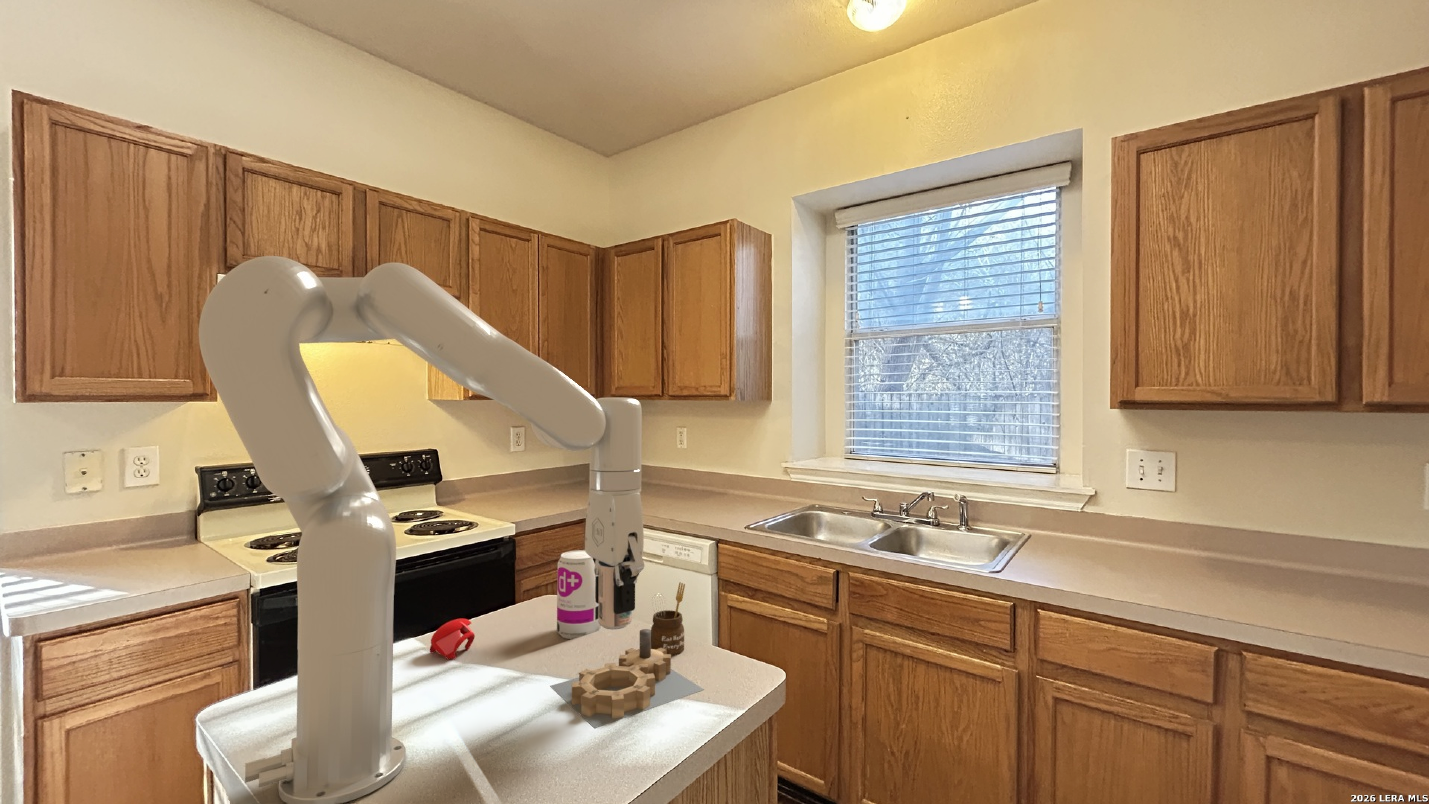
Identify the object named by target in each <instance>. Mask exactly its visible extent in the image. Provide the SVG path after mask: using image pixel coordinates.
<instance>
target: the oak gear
mask: <svg viewBox="0 0 1429 804" xmlns="http://www.w3.org/2000/svg"><path fill="white" fill-rule="evenodd" d="M578 675H579V676H578V678H579V681H578V682H572V705H576V704H581V714H583V715H586V716H589V717H591V716H592V715H594V714H595V713H603V714H611V715H612V718H620V717H624V712H626V711H629V710H632V709H635V708H638V709H641V710H644V709H646V708H647V707H648V706H650V696H651V695H655V676H654V673H651V674H645V673H643V672H642V671H641V666H640V667H639V665H637V664H633V665H632V666H630V667H626V666H619V665H616V662H609V663H604V667H600V668H598V669H597V668H596V669H593V670H591V669H588V668H586V669H584V670H582V671H580V672H579V674H578ZM611 686H614V687H628V688H625V689H622V690H619V691H606V690H601V689H604V688H607V687H611Z"/></svg>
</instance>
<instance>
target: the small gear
mask: <svg viewBox="0 0 1429 804" xmlns="http://www.w3.org/2000/svg"><path fill="white" fill-rule="evenodd" d="M633 664H637V665H639V667H640V666H641V671H642V672H643V673H645V674H651V673H654V676H655V680H657V681H661V680H663V679H666V674H671V669H672V667H671V666H672V656H671V654H667V650H666V649H663V648H659V649H656V650H655V649H651V629H648V628H645V629H644V628H642V629H640V630H639V649H635V648H633V647H632V648H628V649H625V651H624V654H619V656H618V666H626V667H630V666H632V665H633Z"/></svg>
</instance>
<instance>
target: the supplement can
mask: <svg viewBox="0 0 1429 804" xmlns="http://www.w3.org/2000/svg"><path fill="white" fill-rule="evenodd" d="M594 568H595V563H594V561H593V558H592V557H590V556H589V555H588V554H587V553H586V551H585V549H583V550H580V549H579V550H570V551H565V552H562V553H561V554H560V558H559V559H558V562H557V584H556V585H557V586H556V587H557V590H556V591H557V592H556V596H557V597H556V601H557V602H556V632H557V633H558V634H559V636H561V637H562V638H564V639H568V640H574V639H578V638H581V637H583V636H587V635H590V634H593V633H596V632H599V631H600V630H601V627H602V626H601V625H599V623H598V610H599V604H598V603H596V575H595V573H594ZM597 576H598V575H597Z"/></svg>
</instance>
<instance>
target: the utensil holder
mask: <svg viewBox="0 0 1429 804" xmlns="http://www.w3.org/2000/svg"><path fill="white" fill-rule="evenodd" d="M678 583H679V584H678V587H677V591H676V595H675V600H676V607H675V610H672V609H671V610H670V609H669V610H667V609H665V606H663V607H662V610H659V607H655V608H652V610H653V612H654V614H653V617H652V623H653V624H652V625H651V627H650V630H651V649H655V650H656V649H659V648H663V649H666V650H667V654H671V657H674V656H678V655H680V654H682V653H683V652H684V651H685V628H684V625H683V614H682V613H681V612H680V611H679V608H680V607H679V606H680V604H681V603H682V602H683V598H684V594H685V593H684V592H685V587H686V584H685V583H683V582H682V583H681V581H680V582H678ZM661 596H662V593H656V594H655V595H653V597H652V599H651V600H652V601H651V603H652V606H657V605H656V602H657V604H659V603H660V606H662V605H661V602H662V604H667V603H666V599H665V597H664V596H662V597H663V601H661V602H659V601H658V599H660V598H661ZM656 597H658V599H657V600H656V602H655V599H656ZM655 609H656V610H657V612H656V610H655Z"/></svg>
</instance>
